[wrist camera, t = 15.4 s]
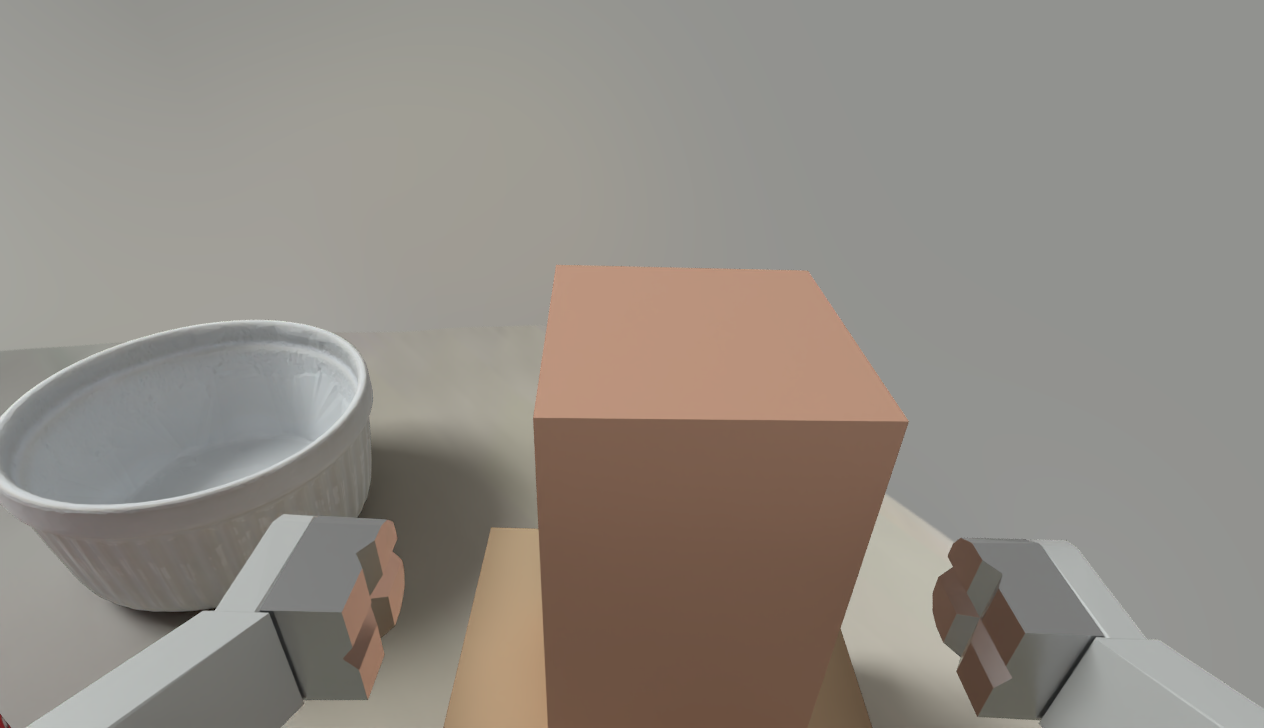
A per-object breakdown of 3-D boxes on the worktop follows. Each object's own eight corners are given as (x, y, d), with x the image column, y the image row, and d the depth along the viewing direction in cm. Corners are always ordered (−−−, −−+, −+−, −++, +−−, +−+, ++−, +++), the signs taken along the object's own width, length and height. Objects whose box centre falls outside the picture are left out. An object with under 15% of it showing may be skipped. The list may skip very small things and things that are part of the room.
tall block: (551, 800, 14) (533, 417, 8) (563, 601, 18) (556, 265, 13) (784, 795, 14) (908, 422, 9) (742, 600, 18) (807, 270, 13)
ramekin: (448, 513, 31) (431, 392, 27) (123, 719, 22) (34, 580, 18) (309, 401, 38) (281, 293, 34) (21, 523, 29) (-58, 395, 25)
